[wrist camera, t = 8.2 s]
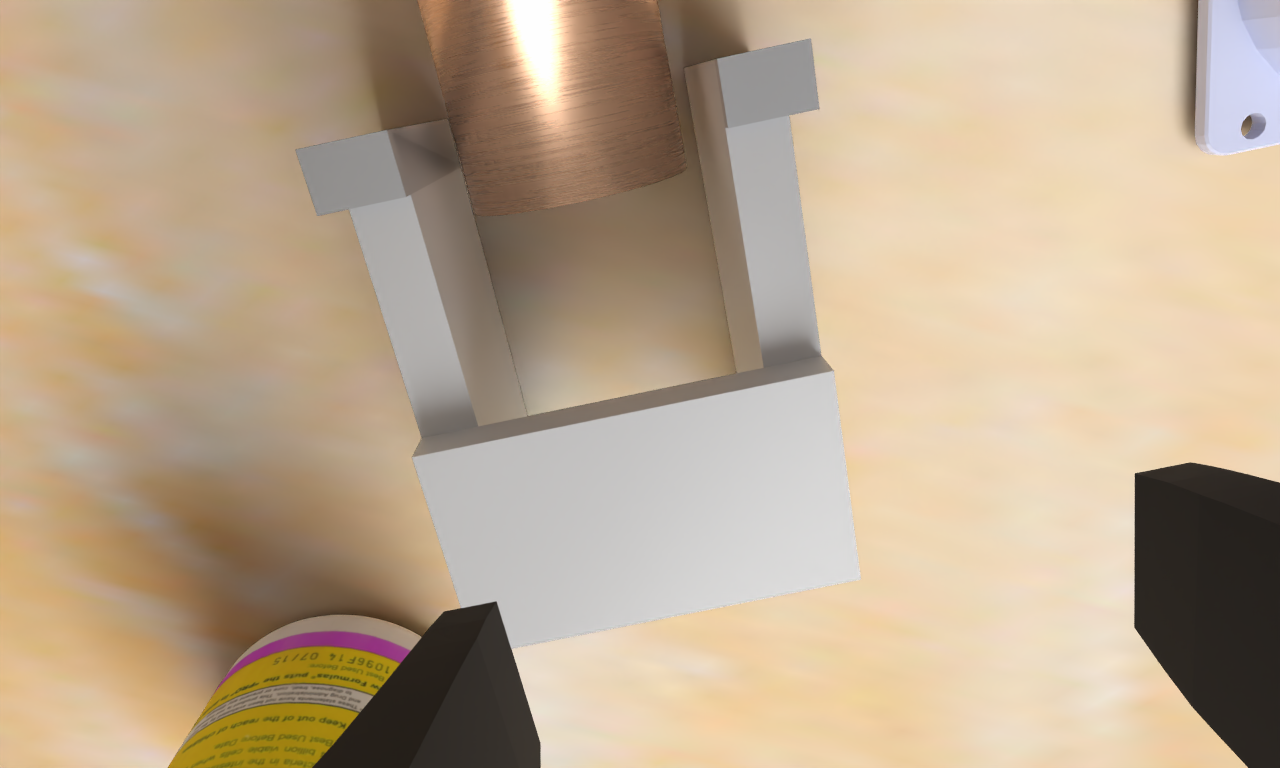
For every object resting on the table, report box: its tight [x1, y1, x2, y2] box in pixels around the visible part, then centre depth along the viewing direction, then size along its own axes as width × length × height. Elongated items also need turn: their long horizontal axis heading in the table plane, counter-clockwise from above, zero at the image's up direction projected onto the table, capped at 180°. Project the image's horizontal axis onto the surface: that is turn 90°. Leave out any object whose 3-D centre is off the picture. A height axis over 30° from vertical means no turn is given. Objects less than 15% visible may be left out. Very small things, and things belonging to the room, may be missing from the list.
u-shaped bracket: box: [296, 39, 861, 649], centre depth 16 cm, size 8×9×6 cm
